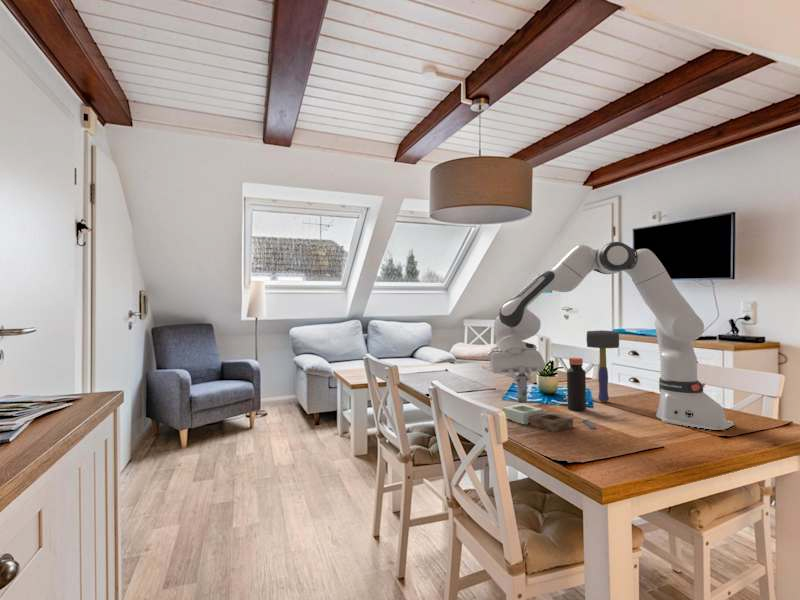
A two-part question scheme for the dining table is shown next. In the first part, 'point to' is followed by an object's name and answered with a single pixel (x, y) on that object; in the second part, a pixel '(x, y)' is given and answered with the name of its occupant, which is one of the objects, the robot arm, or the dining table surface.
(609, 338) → the rubber mallet
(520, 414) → the rack block
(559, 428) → the socket block
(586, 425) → the drift key
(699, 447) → the dining table surface
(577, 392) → the bottle
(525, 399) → the drill bit
